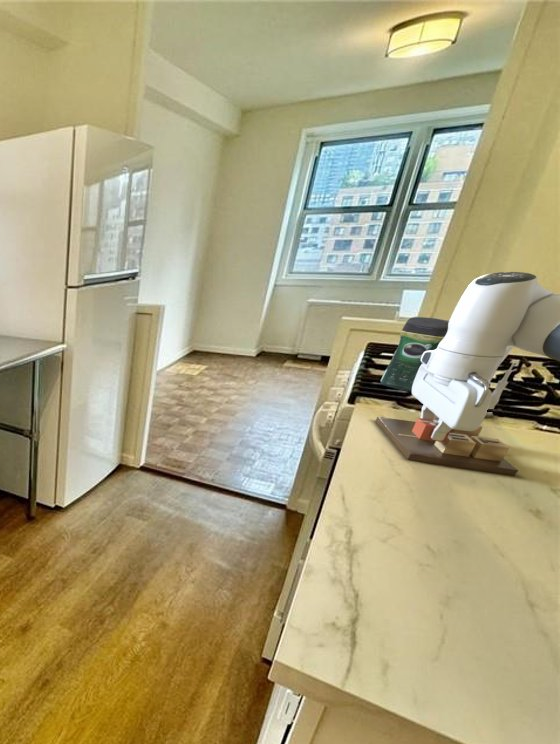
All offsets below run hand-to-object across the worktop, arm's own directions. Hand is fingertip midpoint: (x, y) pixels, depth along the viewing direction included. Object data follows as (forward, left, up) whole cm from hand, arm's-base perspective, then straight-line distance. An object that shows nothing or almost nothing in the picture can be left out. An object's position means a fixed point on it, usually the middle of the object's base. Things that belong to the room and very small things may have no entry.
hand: (429, 433), depth 95 cm
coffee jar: (-10, -46, -4) cm, 47 cm away
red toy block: (0, 0, -1) cm, 1 cm away
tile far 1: (-9, 0, -3) cm, 10 cm away
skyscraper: (-17, -31, -4) cm, 36 cm away
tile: (-4, 0, -3) cm, 5 cm away
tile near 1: (-9, -10, -3) cm, 14 cm away
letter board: (-4, -5, -4) cm, 8 cm away
